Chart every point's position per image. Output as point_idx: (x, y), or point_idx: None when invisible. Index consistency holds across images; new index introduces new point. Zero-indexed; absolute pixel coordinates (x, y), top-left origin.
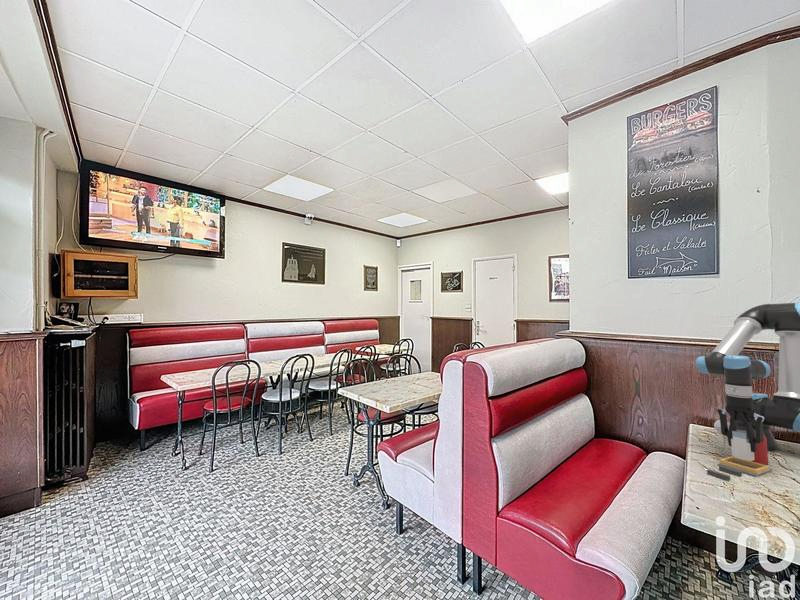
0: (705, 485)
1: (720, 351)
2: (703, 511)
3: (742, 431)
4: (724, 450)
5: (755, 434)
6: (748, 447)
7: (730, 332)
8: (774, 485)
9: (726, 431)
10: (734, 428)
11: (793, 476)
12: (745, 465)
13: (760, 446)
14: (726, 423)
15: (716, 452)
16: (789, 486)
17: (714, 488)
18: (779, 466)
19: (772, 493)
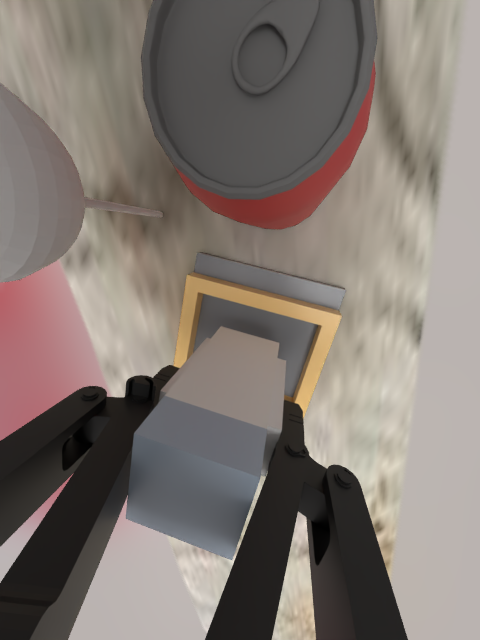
0: (206, 564)
1: None
2: None
3: (187, 484)
4: (140, 214)
5: (275, 191)
6: None
7: None
8: (351, 462)
9: (82, 413)
10: (114, 503)
11: (427, 291)
12: (251, 320)
13: (309, 210)
14: (2, 502)
15: (113, 168)
16: (396, 440)
17: (226, 571)
18: (380, 148)
19: None
